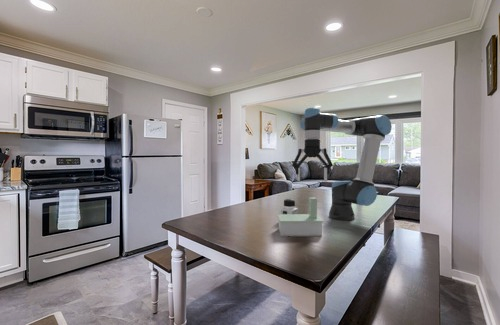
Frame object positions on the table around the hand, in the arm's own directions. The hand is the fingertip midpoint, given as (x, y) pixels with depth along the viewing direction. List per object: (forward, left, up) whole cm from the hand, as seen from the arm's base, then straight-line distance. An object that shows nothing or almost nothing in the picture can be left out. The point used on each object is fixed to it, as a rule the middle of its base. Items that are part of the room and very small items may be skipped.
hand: (312, 180), depth 124 cm
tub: (+7, 0, -27) cm, 27 cm away
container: (+9, -21, -27) cm, 35 cm away
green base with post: (+7, 0, -20) cm, 21 cm away
